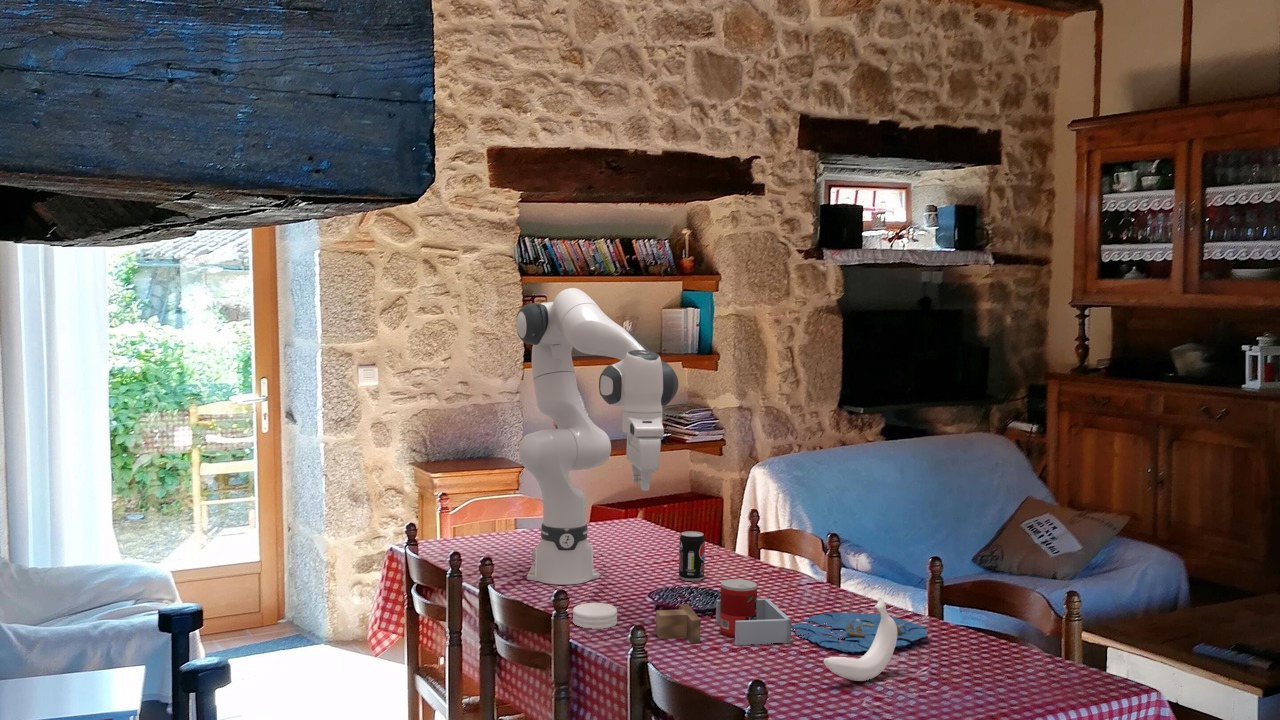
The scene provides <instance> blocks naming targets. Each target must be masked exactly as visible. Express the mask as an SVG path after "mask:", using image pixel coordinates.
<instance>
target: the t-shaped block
mask: <svg viewBox="0 0 1280 720" xmlns="http://www.w3.org/2000/svg"><path fill="white" fill-rule="evenodd" d="M655 612H656V613H655V634H656V636H657V637H658V639H687V640H688V641H689V644H701V627H702V625H701V622H702V621H701V618H700V617H699V616H698V614H697V613H696V612H695V611H694V610H693V608H692V607H691V606H690V604H689V603H685V604H684V603H683V604H682V603H681V604H679V607H678V609H657V610H656V611H655Z"/></svg>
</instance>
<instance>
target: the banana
mask: <svg viewBox="0 0 1280 720" xmlns="http://www.w3.org/2000/svg"><path fill="white" fill-rule="evenodd" d="M886 606H887V605H886V602H885V600H884V599H883V597H882V596H878V597H877V603H876V604H875V605H874V608H875V609H877V610H878V612H879V614H880V615H881V621H880V624H879V627H878V630H877V633H876V636H875V639H874V641H873V643H872V645H871V647H870V649H869V650H868V651H866V653H864V655H862V656H861V657H859V658H852V657H844V656H833V657H825V658H824V659H823V664H824V665H825V667H826V668H827V669H828V670H830V672H832V673H833V674H835V675H836V676H839V677H841V678H845V679H847V680H851V681H856V682H865V681H866V680H867V681H870V680H872V679H874V678H875V677H877V676H879V675H880V674H881V673H882V672H883V671H884V670H885V668H886V667H887V665H888V664H889V662H890V660H891V658H892V656H893V654H894V651H895V648H896V647H895V645H896V641H897V639H898V638H897V626H896V623H895V621H894V620H893V619H892V618H891V617H892V616H891V615H889V613H888V612H887V607H886ZM869 679H870V680H869Z"/></svg>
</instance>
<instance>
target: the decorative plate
mask: <svg viewBox="0 0 1280 720" xmlns="http://www.w3.org/2000/svg"><path fill="white" fill-rule="evenodd" d="M890 617H891V618H892V619H893V620H894V621H895V623H896V626H897V641H896V645H895V648H899V649H900V648H903V647H907V645H911V642H915V641H918V640H920V639H923V638H926V637H927V636H929V634H928V629H927V628H926V626H922V625H920V624H916V623H912V622H909V621H907V620H904V619H902V618H898V617H895V616H894V617H893V616H890ZM807 618H809V619H807ZM807 618H803V619H802V620H804V621H803V622H810V623H795V622H794V624H792V626H791V629H795V630H801V631H797V632H795V634H796V636H798V635H800V634H801V635H802V636H803V634H806V635H804V636H803V637H802V639H803V638H805V639H804V640H806V639H808V640H810V642H811V643H817V644H818V645H819V646H820V647H825V648H829V649H830V648H832V649H836V650H839V651H841V652H845V653H848V652H850V653H851V654H854V653H855V652H858V653H861V652H863V651H865V652H867V651H868V650H869V649H870V647H871V645H872V643H873V641H874V639H875V636H876V633H877V630H878V627H879V624H880V621H881V615H880V613H860V612H859V613H858V612H857V613H855V612H839V611H838V612H824V613H822V614H815V615H812V616H807ZM816 623H818V624H816ZM824 623H825V624H824ZM826 623H827V624H826ZM807 624H808V625H807ZM813 625H816V626H813ZM820 625H826V626H825V627H827V626H833V627H830V628H831V629H829V628H824V627H823V626H820ZM817 626H820V627H817ZM806 629H808V630H806ZM833 629H838V630H833ZM795 630H792V632H793V631H795ZM831 630H832V631H831ZM840 630H843V631H840ZM831 632H833V633H831ZM808 633H809V634H808ZM835 633H837V634H835ZM838 634H839V635H838ZM823 635H827V636H823ZM828 635H831V636H833V637H830V636H828ZM840 635H842V636H844V637H842V636H841V637H842V638H843V639H844V638H845V640H844V641H838V639H836V638H839V640H841V639H842V638H841V637H840ZM800 637H801V636H800ZM854 641H856V642H854ZM843 642H844V643H843ZM858 642H859V643H858Z"/></svg>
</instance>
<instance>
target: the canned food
mask: <svg viewBox="0 0 1280 720" xmlns="http://www.w3.org/2000/svg"><path fill="white" fill-rule="evenodd" d="M719 597H720V599H719V600H720V623H719V630H720V633H721V634H722V635H723V636H726V637H729V638H733V639H735V621H740V620H756V616H757V599H758V584H757V583H756V582H755V581H752V580H748V579H741V578H738V579H737V578H732V579H726V580H723V581H721V582H720V596H719Z"/></svg>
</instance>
